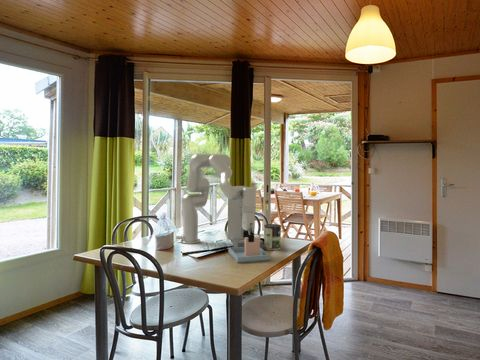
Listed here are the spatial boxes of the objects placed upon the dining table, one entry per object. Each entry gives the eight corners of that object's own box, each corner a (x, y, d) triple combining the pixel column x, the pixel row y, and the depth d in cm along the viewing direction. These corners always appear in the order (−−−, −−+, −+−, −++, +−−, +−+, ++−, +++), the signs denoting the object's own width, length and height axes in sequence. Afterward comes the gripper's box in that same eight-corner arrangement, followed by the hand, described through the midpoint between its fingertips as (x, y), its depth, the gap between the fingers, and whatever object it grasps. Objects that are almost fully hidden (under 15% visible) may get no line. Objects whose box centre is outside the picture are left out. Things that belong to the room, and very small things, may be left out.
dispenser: (237, 251, 198) (237, 241, 197) (232, 246, 209) (232, 237, 209) (263, 249, 202) (263, 240, 202) (256, 245, 213) (257, 236, 213)
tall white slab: (227, 239, 228) (228, 195, 227) (230, 237, 234) (230, 194, 232) (247, 241, 224) (248, 196, 223) (249, 239, 230) (250, 195, 228)
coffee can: (281, 246, 211) (281, 224, 210) (279, 250, 201) (280, 227, 200) (265, 245, 213) (265, 223, 212) (262, 249, 203) (263, 226, 202)
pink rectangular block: (245, 256, 185) (246, 238, 184) (244, 255, 188) (244, 237, 187) (259, 255, 187) (259, 237, 186) (258, 254, 190) (258, 236, 189)
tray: (237, 262, 175) (237, 257, 175) (228, 252, 194) (228, 247, 194) (269, 260, 180) (269, 255, 180) (257, 251, 199) (258, 246, 199)
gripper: (238, 207, 193) (238, 236, 194) (246, 211, 176) (246, 244, 177) (250, 207, 195) (250, 236, 196) (260, 211, 178) (259, 243, 179)
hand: (248, 239), depth 186 cm, fingers open, 9 cm apart
